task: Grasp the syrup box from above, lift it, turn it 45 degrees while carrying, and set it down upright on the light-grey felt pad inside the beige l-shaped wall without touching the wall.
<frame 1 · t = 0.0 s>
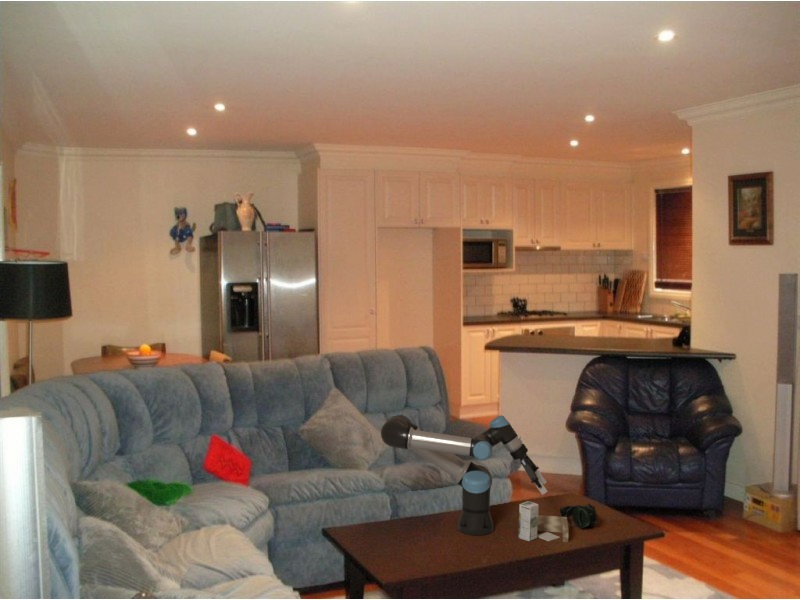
hand: (544, 488, 324), 15 cm above the table, tool tilted 35°, fingers open, 13 cm apart
beige l-shaped wall: (545, 535, 310), on the table
headphones: (578, 523, 325), on the table
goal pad: (547, 536, 308), on the table
syrup box: (528, 538, 307), on the table
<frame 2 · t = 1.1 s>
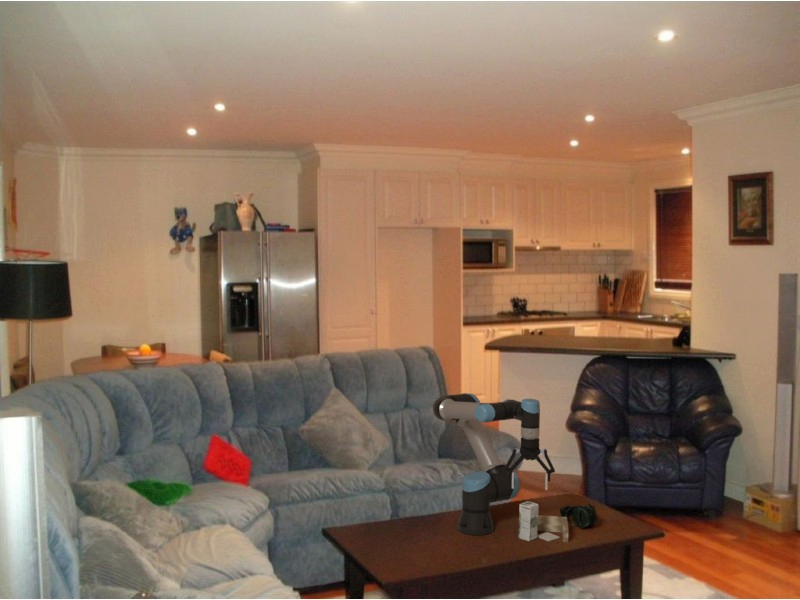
hand: (529, 488, 306), 21 cm above the table, tool pointing down, fingers open, 13 cm apart
nothing on the table moved.
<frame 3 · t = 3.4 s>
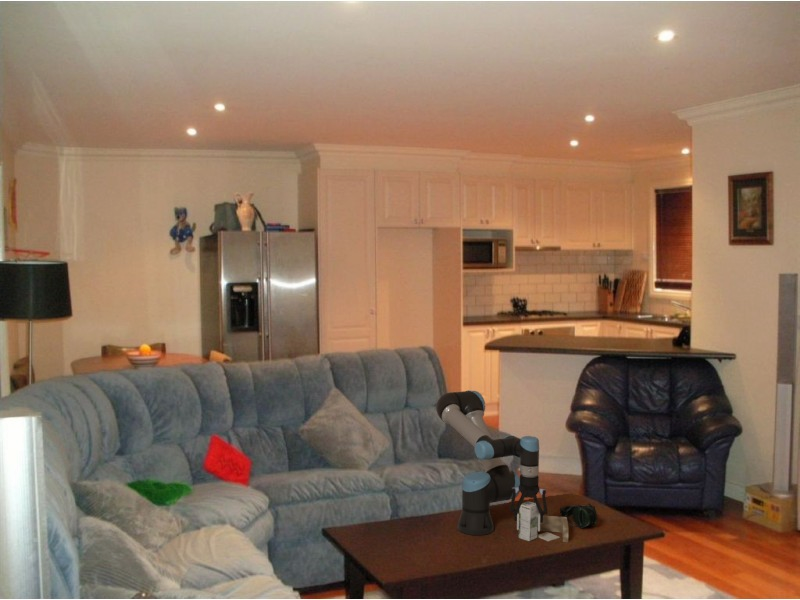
hand: (528, 529, 306), 4 cm above the table, tool pointing down, fingers closed on syrup box, 8 cm apart
syrup box: (528, 538, 307), on the table, touching gripper
everything else where it was.
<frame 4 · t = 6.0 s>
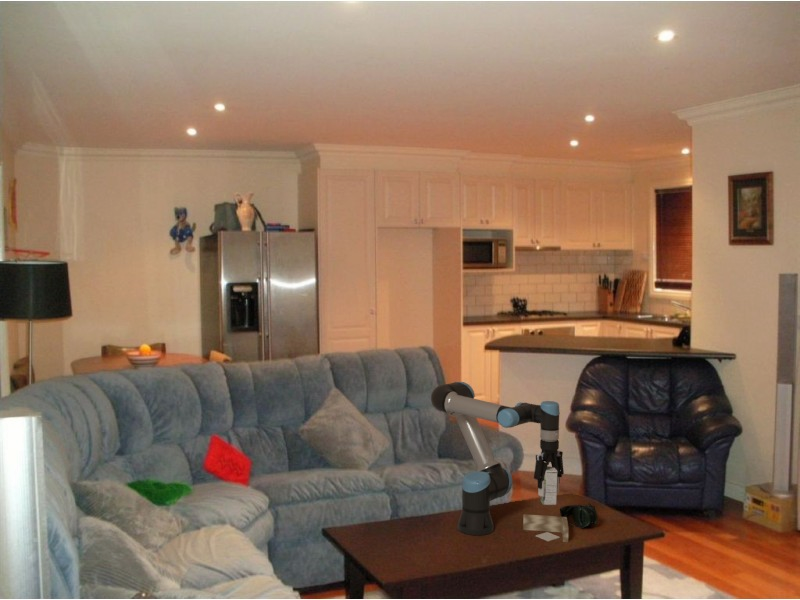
hand: (548, 493, 307), 18 cm above the table, tool pointing down, fingers closed on syrup box, 8 cm apart
syrup box: (548, 503, 307), point 14 cm above the table, touching gripper
everything else where it was.
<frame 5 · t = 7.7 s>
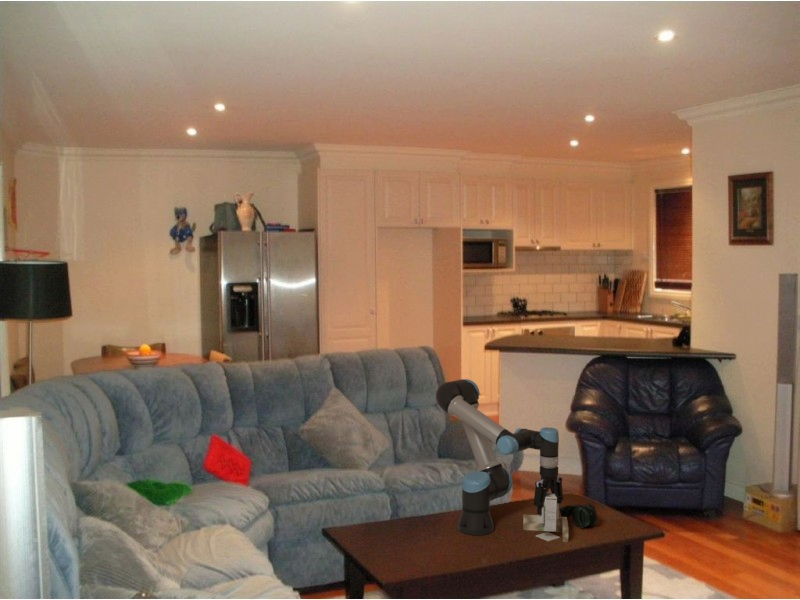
hand: (548, 520, 308), 7 cm above the table, tool pointing down, fingers closed on syrup box, 8 cm apart
syrup box: (548, 529, 308), point 3 cm above the table, touching gripper
everything else where it was.
when the fingers open (5 cm above the table, at t = 9.0 s): syrup box drops 1 cm, resting on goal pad.
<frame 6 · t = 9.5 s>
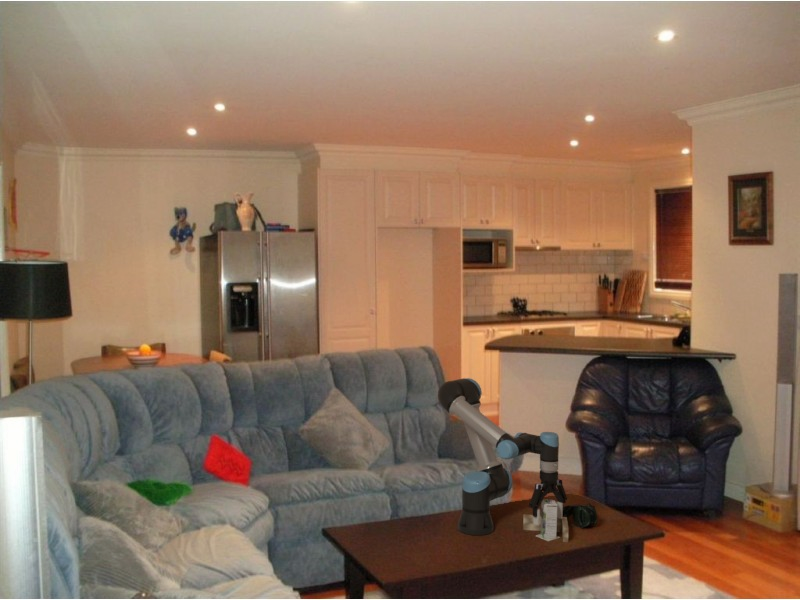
hand: (548, 521, 308), 7 cm above the table, tool pointing down, fingers open, 13 cm apart
syrup box: (548, 536, 308), resting on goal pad
everything else where it was.
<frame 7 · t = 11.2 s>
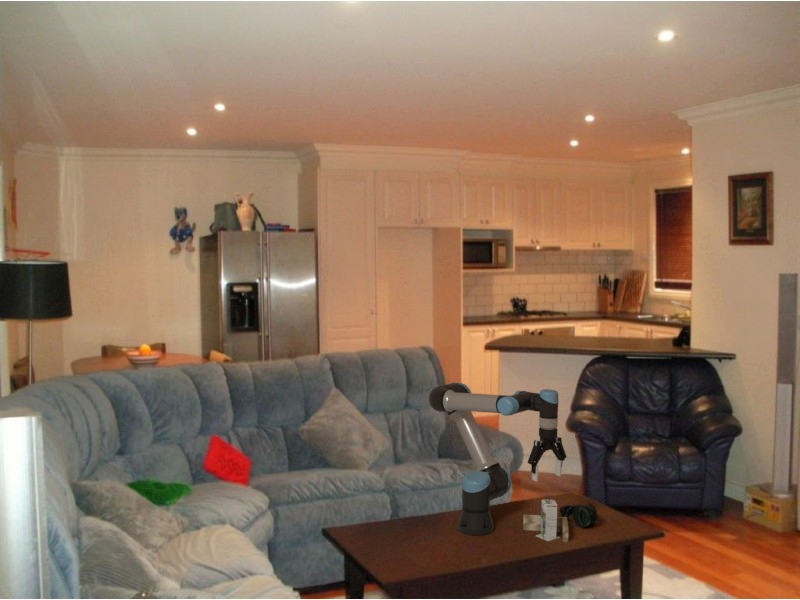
hand: (546, 478, 308), 24 cm above the table, tool pointing down, fingers open, 13 cm apart
nothing on the table moved.
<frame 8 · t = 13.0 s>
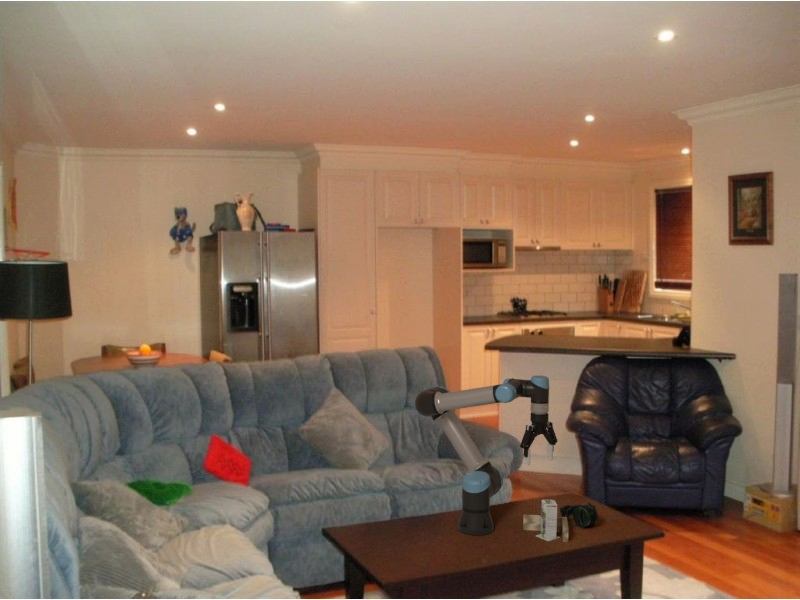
hand: (538, 461, 317), 29 cm above the table, tool pointing down, fingers open, 13 cm apart
at the end: syrup box inside the target area (0.5 cm from its centre), resting on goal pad; syrup box tilted 0°; syrup box touching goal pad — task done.
